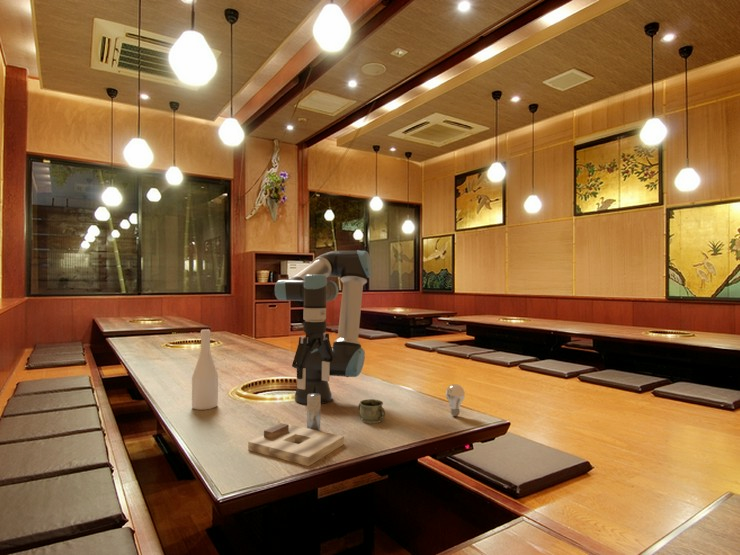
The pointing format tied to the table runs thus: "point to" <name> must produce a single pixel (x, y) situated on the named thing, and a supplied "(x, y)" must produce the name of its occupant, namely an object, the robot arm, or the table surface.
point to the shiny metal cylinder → (313, 411)
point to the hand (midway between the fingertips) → (313, 384)
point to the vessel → (371, 411)
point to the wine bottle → (205, 377)
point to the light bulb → (455, 398)
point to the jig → (282, 443)
